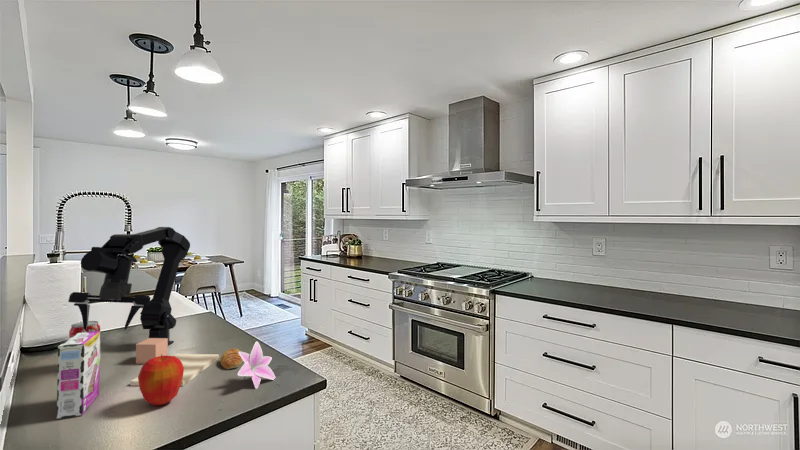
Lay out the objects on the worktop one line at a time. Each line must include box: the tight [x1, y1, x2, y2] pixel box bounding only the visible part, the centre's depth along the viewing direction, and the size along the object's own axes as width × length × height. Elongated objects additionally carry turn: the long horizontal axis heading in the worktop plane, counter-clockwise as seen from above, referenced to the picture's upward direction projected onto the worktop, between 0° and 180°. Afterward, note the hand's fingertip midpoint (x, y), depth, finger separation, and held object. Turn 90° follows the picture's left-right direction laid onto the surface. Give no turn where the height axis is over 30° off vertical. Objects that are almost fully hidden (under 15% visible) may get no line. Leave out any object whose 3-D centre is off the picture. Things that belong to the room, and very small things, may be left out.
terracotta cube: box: [135, 337, 169, 365], centre depth 117 cm, size 6×6×6 cm
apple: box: [137, 354, 184, 406], centre depth 90 cm, size 9×9×12 cm
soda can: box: [68, 320, 102, 361], centre depth 111 cm, size 7×7×13 cm
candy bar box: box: [56, 330, 101, 420], centre depth 88 cm, size 11×5×16 cm, turn 23°
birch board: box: [129, 353, 220, 387], centre depth 109 cm, size 20×14×1 cm
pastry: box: [219, 348, 244, 370], centre depth 115 cm, size 9×7×4 cm
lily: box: [237, 340, 277, 389], centre depth 103 cm, size 12×12×10 cm
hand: (105, 329), depth 107 cm, fingers open, 9 cm apart
